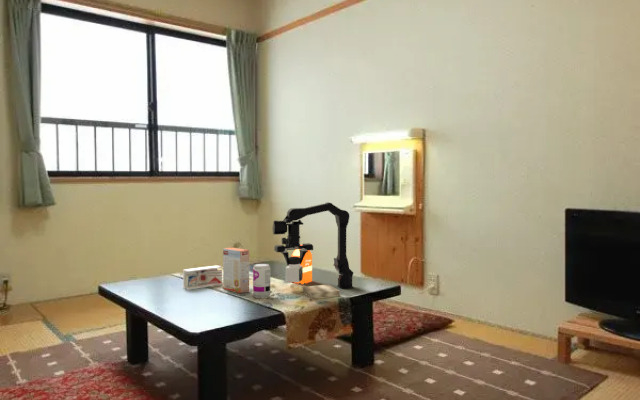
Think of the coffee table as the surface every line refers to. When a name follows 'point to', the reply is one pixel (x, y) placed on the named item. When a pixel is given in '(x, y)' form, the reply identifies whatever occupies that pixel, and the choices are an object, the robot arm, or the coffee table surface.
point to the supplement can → (261, 280)
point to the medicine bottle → (294, 270)
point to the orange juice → (305, 265)
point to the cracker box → (236, 270)
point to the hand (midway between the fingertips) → (294, 264)
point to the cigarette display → (202, 277)
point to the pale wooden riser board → (320, 291)
